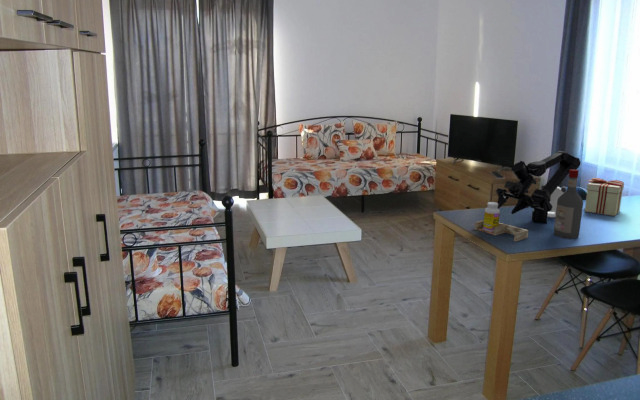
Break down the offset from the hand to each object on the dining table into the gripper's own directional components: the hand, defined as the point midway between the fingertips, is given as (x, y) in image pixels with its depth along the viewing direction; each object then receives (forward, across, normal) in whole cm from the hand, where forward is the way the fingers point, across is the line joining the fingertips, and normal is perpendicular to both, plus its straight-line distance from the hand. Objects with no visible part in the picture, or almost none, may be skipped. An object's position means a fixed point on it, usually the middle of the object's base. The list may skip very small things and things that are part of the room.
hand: (504, 211), depth 248 cm
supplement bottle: (+11, 0, 0) cm, 11 cm away
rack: (+11, +5, +1) cm, 12 cm away
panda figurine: (-23, -6, +35) cm, 42 cm away
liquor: (-6, +21, +18) cm, 29 cm away
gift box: (-44, +1, +57) cm, 72 cm away
